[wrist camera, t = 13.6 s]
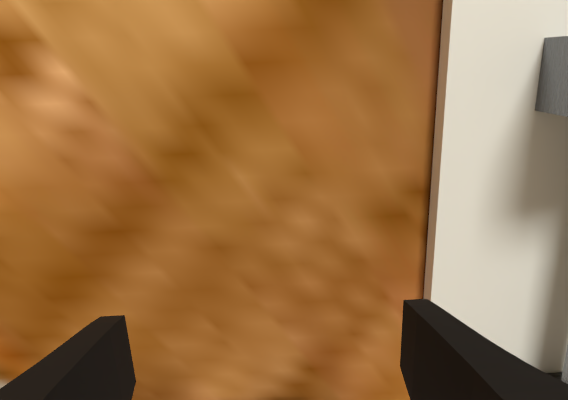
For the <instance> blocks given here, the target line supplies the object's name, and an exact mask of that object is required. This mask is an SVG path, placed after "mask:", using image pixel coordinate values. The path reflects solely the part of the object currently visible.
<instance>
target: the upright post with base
mask: <svg viewBox="0 0 568 400" xmlns="http://www.w3.org/2000/svg"><path fill="white" fill-rule="evenodd" d="M547 374H549V375H551V376H553V377H555V378H557V379H559V380H561V381H563V382H565V383H567V384H568V345H567V351H566V356H565V361H564V367H563V372H556V373H547Z"/></svg>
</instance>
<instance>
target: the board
mask: <svg viewBox="0 0 568 400" xmlns="http://www.w3.org/2000/svg"><path fill="white" fill-rule="evenodd" d="M560 36H568V0H443V12H442V27H441V42H440V57H439V72H438V87H437V102H436V117H435V132H434V147H433V162H432V177H431V192H430V207H429V222H428V237H427V252H426V267H425V282H424V297H423V299H428V300H430V301H431V302H433V303H435V304H436V305H438V306H439V307H441V308H442V309H444V310H445V311H447V312H448V313H450V314H451V315H452V316H454V317H455V318H457V319H458V320H460V321H461V322H463V323H464V324H466V325H467V326H469V327H470V328H472V329H473V330H475V331H476V332H478V333H479V334H481V335H482V336H484V337H485V338H487V339H488V340H490V341H491V342H493V343H495V344H496V345H498V346H499V347H501V348H503V349H504V350H506V351H508V352H509V353H511V354H513V355H514V356H516V357H518V358H520V359H521V360H523V361H525V362H526V363H528V364H530V365H532V366H534V367H535V368H537V369H539V370H541V371H543V372H545V373H556V372H563V367H564V361H565V356H566V351H567V345H568V117H565V116H560V115H555V114H550V113H545V112H540V111H535V104H536V97H537V89H538V82H539V74H540V67H541V59H542V52H543V44H544V38H547V37H560Z"/></svg>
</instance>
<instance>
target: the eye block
mask: <svg viewBox="0 0 568 400" xmlns="http://www.w3.org/2000/svg"><path fill="white" fill-rule="evenodd" d="M535 111H540V112H545V113H550V114H555V115H560V116H565V117H568V36H560V37H547V38H544V44H543V52H542V59H541V67H540V74H539V82H538V89H537V97H536V104H535Z"/></svg>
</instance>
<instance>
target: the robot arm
mask: <svg viewBox="0 0 568 400" xmlns="http://www.w3.org/2000/svg"><path fill="white" fill-rule="evenodd" d="M400 367H401V371H402V374H403V377H404V381H405V384H406V387H407V390H408V393H409V396H410V399H411V400H568V384H567V383H565V382H563V381H561V380H559V379H557V378H555V377H553V376H551V375H549V374H547V373H545V372H543V371H541V370H539V369H537V368H535V367H534V366H532V365H530V364H528V363H526V362H525V361H523V360H521V359H520V358H518V357H516V356H514V355H513V354H511V353H509V352H508V351H506V350H504V349H503V348H501V347H499V346H498V345H496V344H495V343H493V342H491V341H490V340H488V339H487V338H485V337H484V336H482V335H481V334H479V333H478V332H476V331H475V330H473V329H472V328H470V327H469V326H467V325H466V324H464V323H463V322H461V321H460V320H458V319H457V318H455V317H454V316H452V315H451V314H450V313H448V312H447V311H445V310H444V309H442V308H441V307H439V306H438V305H436V304H435V303H433V302H431V301H430V300H428V299H416V300H404V304H403V322H402V341H401V359H400ZM135 383H136V379H135V374H134V368H133V362H132V356H131V350H130V344H129V339H128V333H127V327H126V321H125V315H123V316H104V317H99V318H98V319H96V320H95V321H93V322H92V323H90V324H89V325H88V326H86V327H85V328H83V329H82V330H81V331H79V332H78V333H77V334H75V335H74V336H73V337H71V338H70V339H69V340H68V341H66V342H65V343H64V344H62V345H61V346H60V347H58V348H57V349H56V350H54V351H53V352H52V353H50V354H49V355H48V356H46V357H45V358H44V359H42V360H41V361H40V362H38V363H37V364H35V365H34V366H33V367H31V368H30V369H28V370H27V371H25V372H24V373H22V374H21V375H20V376H18V377H17V378H15V379H14V380H12V381H11V382H9V383H8V384H7V385H5V386H4V387H2V388H1V389H0V400H131V399H132V395H133V391H134V387H135Z"/></svg>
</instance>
